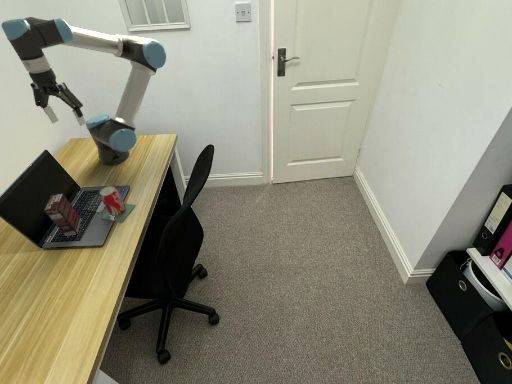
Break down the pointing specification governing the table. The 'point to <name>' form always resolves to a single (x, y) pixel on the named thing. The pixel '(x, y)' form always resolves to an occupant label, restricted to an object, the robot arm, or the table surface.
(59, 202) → the supplement box
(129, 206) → the coaster
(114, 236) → the table surface
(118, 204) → the soda can
